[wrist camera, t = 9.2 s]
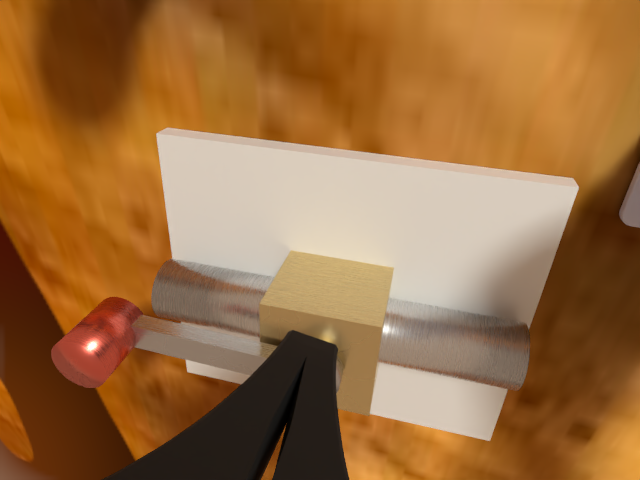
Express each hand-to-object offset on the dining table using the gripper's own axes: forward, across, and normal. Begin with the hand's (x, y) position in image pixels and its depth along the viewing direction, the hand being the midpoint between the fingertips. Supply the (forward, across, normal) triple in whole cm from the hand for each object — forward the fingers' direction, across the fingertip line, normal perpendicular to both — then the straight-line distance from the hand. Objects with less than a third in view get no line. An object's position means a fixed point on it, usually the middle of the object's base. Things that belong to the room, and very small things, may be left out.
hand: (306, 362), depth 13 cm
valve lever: (+5, +4, +6) cm, 9 cm away
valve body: (+9, 0, +5) cm, 11 cm away
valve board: (+10, 0, +5) cm, 11 cm away
